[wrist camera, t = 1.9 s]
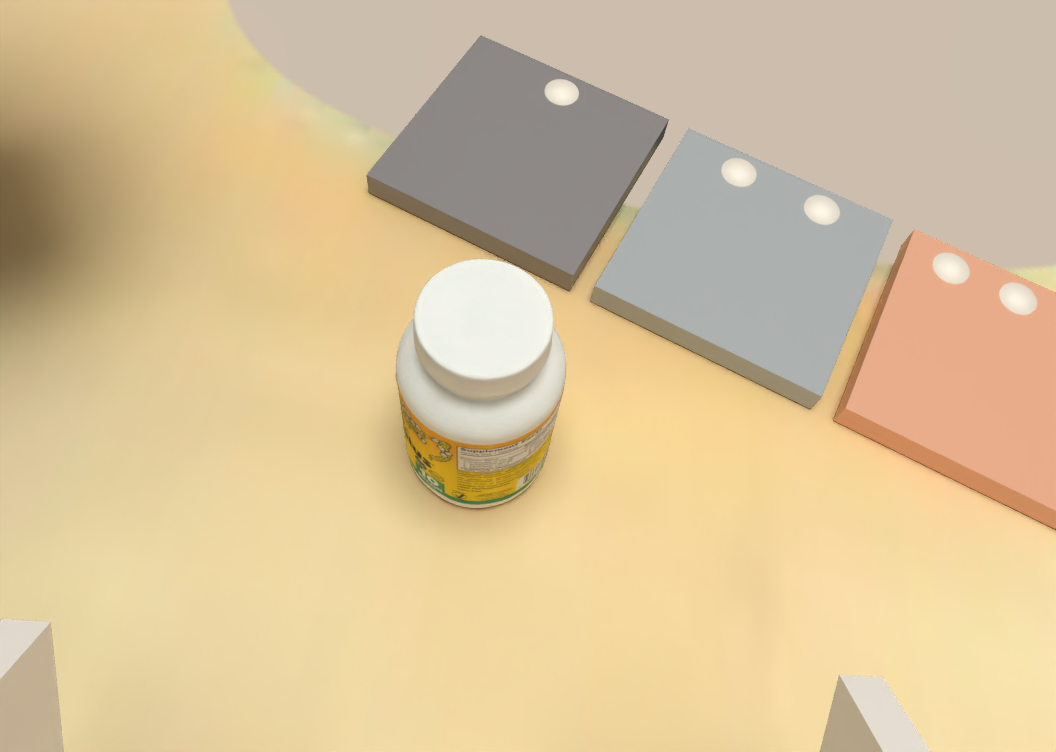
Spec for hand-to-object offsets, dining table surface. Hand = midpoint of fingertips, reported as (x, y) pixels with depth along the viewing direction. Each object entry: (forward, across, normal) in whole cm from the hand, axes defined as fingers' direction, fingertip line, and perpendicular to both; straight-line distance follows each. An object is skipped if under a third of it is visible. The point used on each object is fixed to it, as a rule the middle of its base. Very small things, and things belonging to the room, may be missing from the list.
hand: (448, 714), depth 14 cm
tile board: (+25, +11, +4) cm, 27 cm away
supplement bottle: (+18, 0, -3) cm, 18 cm away
